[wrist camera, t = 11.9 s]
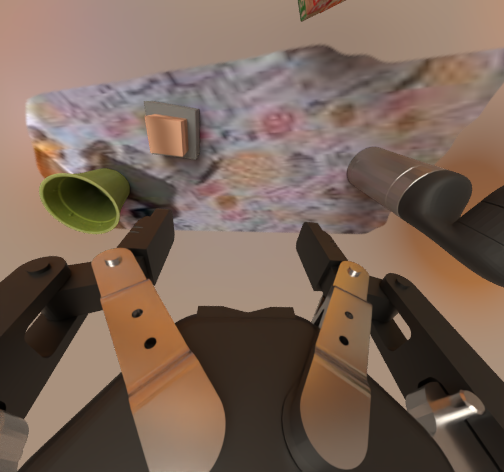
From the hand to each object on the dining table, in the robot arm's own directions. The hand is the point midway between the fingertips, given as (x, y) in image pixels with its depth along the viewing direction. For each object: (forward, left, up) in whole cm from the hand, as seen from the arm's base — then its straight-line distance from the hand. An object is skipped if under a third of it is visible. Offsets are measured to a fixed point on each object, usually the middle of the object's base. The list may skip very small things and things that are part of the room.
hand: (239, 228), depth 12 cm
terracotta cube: (+11, 0, -29) cm, 31 cm away
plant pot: (+26, +13, -34) cm, 45 cm away
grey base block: (+11, 0, -34) cm, 36 cm away
